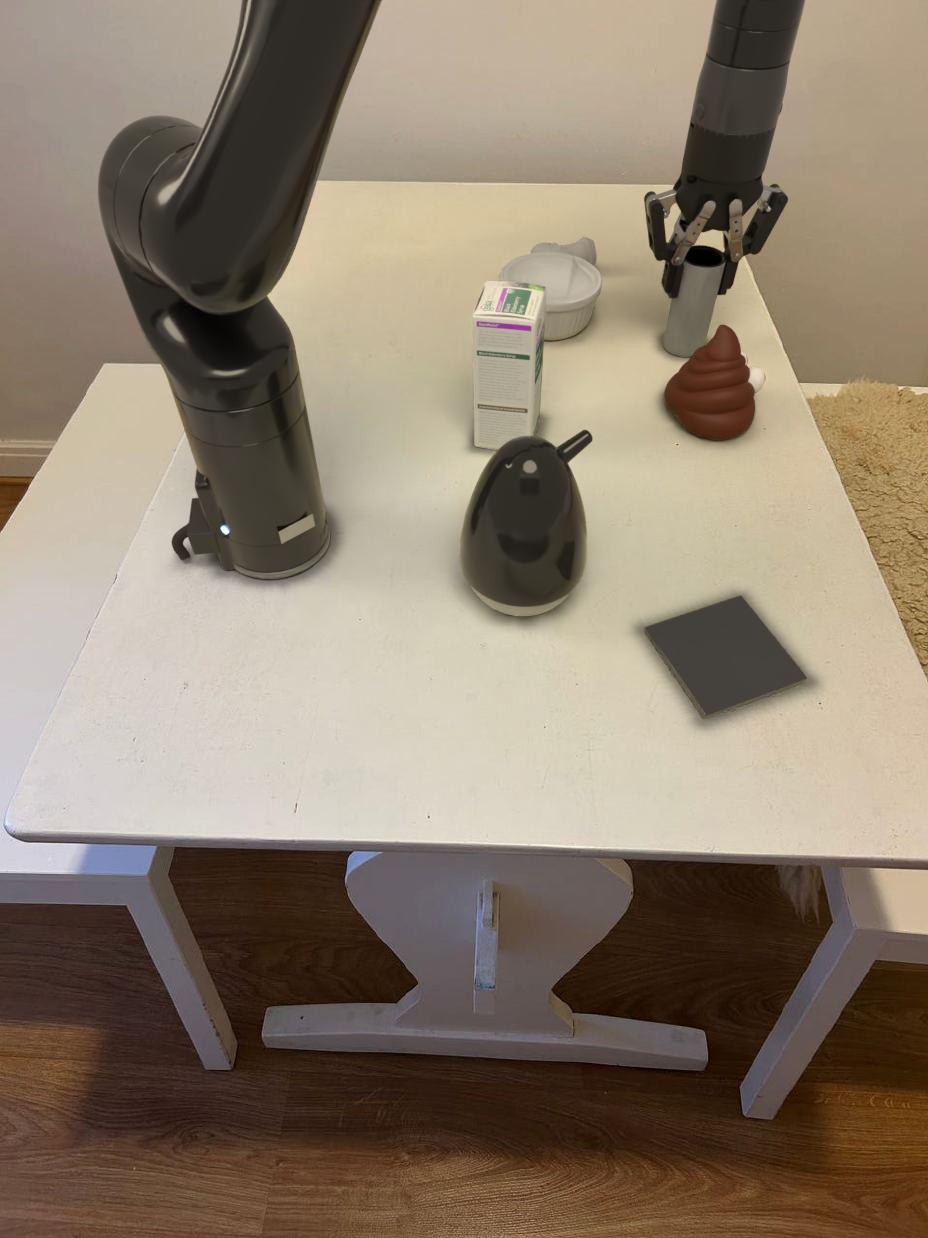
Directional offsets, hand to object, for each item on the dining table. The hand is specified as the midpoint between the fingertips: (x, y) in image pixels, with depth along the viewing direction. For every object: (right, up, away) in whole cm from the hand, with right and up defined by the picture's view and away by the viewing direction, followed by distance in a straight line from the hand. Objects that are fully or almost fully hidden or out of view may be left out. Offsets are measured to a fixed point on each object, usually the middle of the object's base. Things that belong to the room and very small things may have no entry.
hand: (694, 292), depth 88 cm
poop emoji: (+1, -13, -3) cm, 14 cm away
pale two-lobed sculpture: (-12, +8, +15) cm, 21 cm away
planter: (0, -4, +5) cm, 7 cm away
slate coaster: (-4, -37, -22) cm, 43 cm away
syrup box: (-20, -16, -4) cm, 26 cm away
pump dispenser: (-19, -32, -17) cm, 41 cm away
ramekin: (-15, 0, +9) cm, 17 cm away
